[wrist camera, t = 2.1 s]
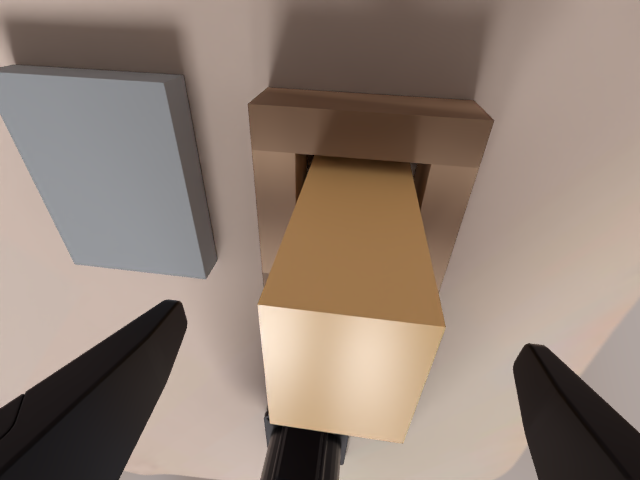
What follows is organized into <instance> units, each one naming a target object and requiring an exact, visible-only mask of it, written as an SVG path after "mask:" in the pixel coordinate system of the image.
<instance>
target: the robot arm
mask: <svg viewBox="0 0 640 480" xmlns="http://www.w3.org/2000/svg"><path fill="white" fill-rule="evenodd" d="M186 329H187V319H186V315H185V312H184V308H183V305H182V303H181V302H180V301H176V300H164V301H162V302H161V303H159V304H158V305H156V306H155V307H153V308H152V309H150V310H149V311H147V312H146V313H144V314H143V315H141V316H140V317H138V318H137V319H135V320H134V321H132V322H131V323H129V324H127V325H126V326H124V327H123V328H121V329H120V330H118V331H117V332H115V333H114V334H112V335H111V336H109V337H108V338H106V339H105V340H103V341H102V342H100V343H99V344H97V345H96V346H94V347H93V348H91V349H90V350H88V351H87V352H85V353H84V354H82V355H81V356H79V357H78V358H76V359H75V360H73V361H71V362H70V363H68V364H67V365H65V366H64V367H62V368H61V369H59V370H58V371H56V372H55V373H53V374H52V375H50V376H49V377H47V378H46V379H44V380H43V381H41V382H40V383H38V384H37V385H35V386H34V387H32V388H31V389H29V390H28V391H26V393H25V394H21V395H20V396H18V397H17V398H15V399H14V400H12V401H11V402H9V403H8V404H6V405H5V406H3V407H2V408H0V480H119V478H120V476H121V474H122V472H123V470H124V468H125V466H126V464H127V462H128V460H129V458H130V456H131V454H132V452H133V450H134V448H135V446H136V444H137V442H138V440H139V438H140V436H141V434H142V432H143V430H144V428H145V426H146V424H147V421H148V419H149V417H150V415H151V413H152V411H153V409H154V407H155V405H156V403H157V401H158V399H159V397H160V395H161V393H162V391H163V389H164V387H165V385H166V383H167V380H168V378H169V375H170V373H171V370H172V367H173V364H174V362H175V359H176V356H177V354H178V351H179V348H180V346H181V343H182V340H183V337H184V335H185V332H186ZM513 373H514V379H515V384H516V389H517V395H518V400H519V406H520V411H521V416H522V422H523V427H524V431H525V435H526V439H527V443H528V446H529V449H530V453H531V456H532V459H533V463H534V466H535V469H536V473H537V476H538V480H640V433H639V432H638V431H637V430H636V429H635V428H634V427H633V426H631V425H630V424H629V423H628V422H627V421H626V420H625V419H624V418H623V417H622V416H621V415H619V413H617V412H616V411H615V410H614V409H613V408H612V407H611V406H610V405H609V404H608V403H606V402H605V400H603V399H602V398H601V397H600V396H599V395H598V394H597V393H596V392H595V391H594V390H593V389H592V388H590V387H589V386H588V385H587V384H586V383H585V382H584V381H583V380H582V379H581V378H580V377H579V376H578V375H577V374H575V373H574V372H573V371H572V370H571V369H570V368H569V367H568V366H567V365H566V364H565V363H564V362H562V361H561V360H560V359H559V358H558V357H557V356H556V355H555V354H554V353H553V352H552V351H551V350H550V349H548V348H547V347H546V346H544V345H539V344H530V343H528V344H526V345H524V347H523V348H522V350H521V352H520V353H519V355H518V357H517V359H516V360H515V362H514V365H513ZM264 423H265V431H266V439H267V447H268V449H267V454H266V458H265V462H264V466H263V470H262V475H261V479H260V480H339V471H340V465H343V464H344V459H345V453H346V447H347V441H348V435H342V434H335V433H329V432H322V431H315V430H309V429H302V428H295V427H289V426H282V425H275V424H270V419H269V411H267V412H266V413H265V417H264Z"/></svg>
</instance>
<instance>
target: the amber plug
mask: <svg viewBox="0 0 640 480" xmlns="http://www.w3.org/2000/svg"><path fill="white" fill-rule="evenodd" d="M258 314H259V324H260V333H261V343H262V352H263V362H264V372H265V381H266V391H267V400H268V410H269V419H270V424H275V425H282V426H289V427H295V428H302V429H309V430H315V431H322V432H329V433H335V434H342V435H349V436H355V437H362V438H368V439H375V440H382V441H388V442H395V443H402V444H403V442H404V439H405V436H406V434H407V431H408V428H409V426H410V423H411V420H412V417H413V415H414V412H415V409H416V407H417V404H418V401H419V398H420V396H421V393H422V390H423V388H424V385H425V382H426V380H427V377H428V374H429V371H430V369H431V366H432V363H433V361H434V358H435V355H436V352H437V350H438V347H439V344H440V342H441V339H442V336H443V333H444V331H445V328H446V326H445V322H444V317H443V312H442V308H441V303H440V299H439V294H438V290H437V285H436V280H435V276H434V271H433V267H432V262H431V258H430V253H429V249H428V244H427V239H426V235H425V230H424V226H423V221H422V217H421V212H420V207H419V203H418V198H417V194H416V189H415V185H414V180H413V176H412V171H411V166H410V163H409V162H397V161H384V160H372V159H359V158H346V157H334V156H321V155H315V156H314V158H313V161H312V164H311V166H310V169H309V171H308V174H307V177H306V179H305V182H304V185H303V187H302V190H301V192H300V195H299V198H298V200H297V203H296V205H295V208H294V211H293V213H292V216H291V218H290V221H289V224H288V226H287V229H286V232H285V234H284V237H283V239H282V242H281V245H280V247H279V250H278V252H277V255H276V258H275V260H274V263H273V265H272V268H271V271H270V273H269V276H268V279H267V281H266V284H265V286H264V289H263V292H262V294H261V297H260V299H259V302H258Z"/></svg>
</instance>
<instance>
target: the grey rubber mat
mask: <svg viewBox="0 0 640 480" xmlns="http://www.w3.org/2000/svg"><path fill="white" fill-rule="evenodd" d="M0 115H1V117H2V119H3V121H4V123H5V125H6V127H7V129H8V131H9V133H10V135H11V137H12V139H13V141H14V143H15V145H16V147H17V149H18V151H19V153H20V155H21V157H22V159H23V161H24V163H25V165H26V167H27V169H28V171H29V173H30V175H31V177H32V179H33V181H34V183H35V185H36V187H37V189H38V191H39V193H40V195H41V197H42V199H43V201H44V203H45V205H46V207H47V209H48V211H49V213H50V215H51V217H52V219H53V221H54V223H55V225H56V227H57V229H58V231H59V233H60V235H61V237H62V239H63V241H64V243H65V246H66V248H67V250H68V252H69V254H70V256H71V258H72V260H73V262H74V264H77V265H86V266H94V267H103V268H112V269H121V270H129V271H138V272H147V273H156V274H164V275H173V276H182V277H191V278H199V279H206V278H207V277H208V275H209V274H210V272H211V270H212V269H213V267H214V265H215V264H216V262H217V256H216V251H215V245H214V240H213V234H212V229H211V223H210V218H209V212H208V207H207V201H206V196H205V190H204V185H203V179H202V174H201V168H200V163H199V157H198V152H197V146H196V141H195V135H194V130H193V124H192V119H191V113H190V108H189V102H188V97H187V91H186V86H185V80H184V75H175V74H158V73H142V72H126V71H109V70H93V69H77V68H60V67H44V66H28V65H10V66H4V67H0Z"/></svg>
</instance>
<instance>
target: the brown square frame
mask: <svg viewBox="0 0 640 480" xmlns="http://www.w3.org/2000/svg"><path fill="white" fill-rule="evenodd" d="M248 112H249V123H250V135H251V146H252V158H253V170H254V181H255V193H256V204H257V216H258V228H259V239H260V251H261V262H262V274H263V285H264V286H265V284H266V281H267V279H268V276H269V273H270V271H271V268H272V265H273V263H274V260H275V258H276V255H277V252H278V250H279V247H280V245H281V242H282V239H283V237H284V234H285V232H286V229H287V226H288V224H289V221H290V218H291V216H292V213H293V211H294V208H295V205H296V203H297V200H298V198H299V195H300V192H301V190H302V187H303V185H304V182H305V179H306V177H307V154H309V155H321V156H334V157H346V158H359V159H372V160H384V161H397V162H409V163H417V168H416V172H415V177H414V185H415V189H416V194H417V198H418V203H419V207H420V212H421V217H422V221H423V226H424V230H425V235H426V239H427V244H428V249H429V253H430V258H431V262H432V267H433V271H434V276H435V280H436V285H437V290H438V294H439V290H440V287H441V284H442V281H443V278H444V275H445V272H446V269H447V266H448V263H449V259H450V256H451V253H452V250H453V247H454V244H455V241H456V238H457V235H458V232H459V228H460V225H461V222H462V219H463V216H464V213H465V210H466V207H467V204H468V200H469V197H470V194H471V191H472V188H473V185H474V182H475V179H476V176H477V173H478V169H479V166H480V163H481V160H482V157H483V154H484V151H485V148H486V145H487V142H488V138H489V135H490V132H491V129H492V126H493V123H494V120H493V119H492V118H491V117H490V116H489V115H488V114H487V113H486V112H485V111H484V110H483V109H482V108H481V107H480V106H479V105H478V104H477V103H476V102H475V101H474V100H459V99H443V98H427V97H411V96H396V95H380V94H364V93H348V92H332V91H316V90H301V89H285V88H269V87H268V88H267V89H265V90H264V91H263V92H262V93H260V94H259V95H258V96H257V97H256V98H254V99H253V100H252V101H251V102H250V103H248Z"/></svg>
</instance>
